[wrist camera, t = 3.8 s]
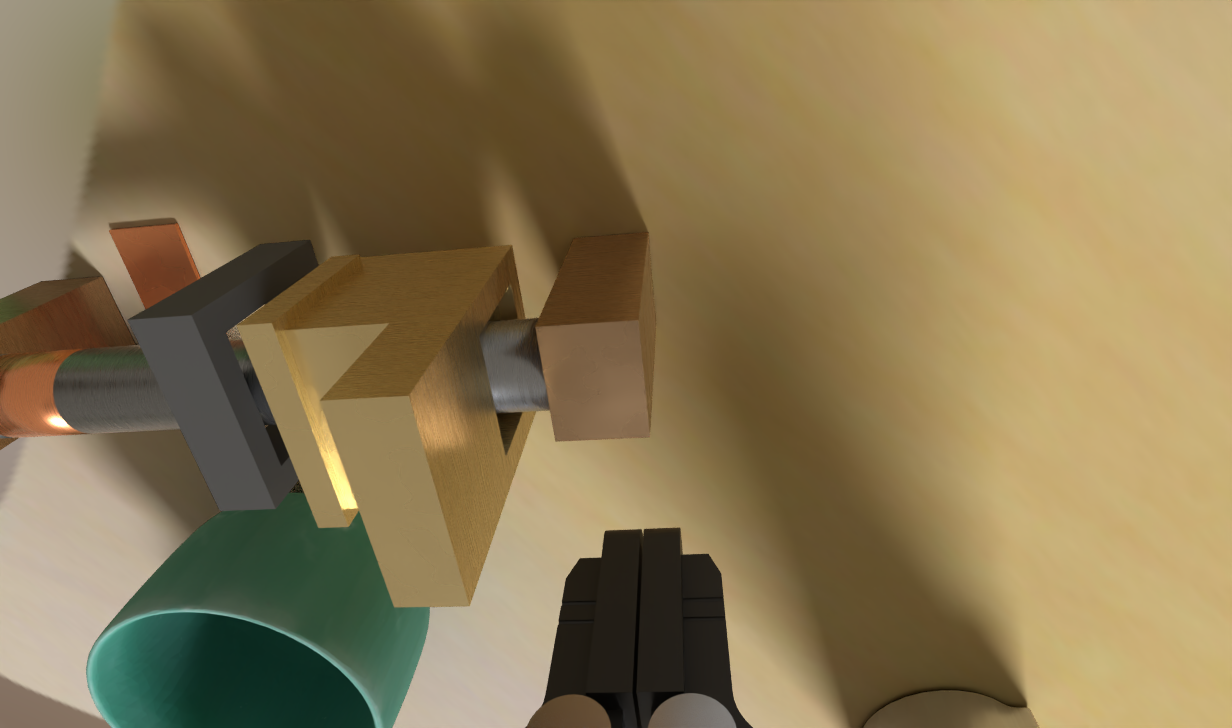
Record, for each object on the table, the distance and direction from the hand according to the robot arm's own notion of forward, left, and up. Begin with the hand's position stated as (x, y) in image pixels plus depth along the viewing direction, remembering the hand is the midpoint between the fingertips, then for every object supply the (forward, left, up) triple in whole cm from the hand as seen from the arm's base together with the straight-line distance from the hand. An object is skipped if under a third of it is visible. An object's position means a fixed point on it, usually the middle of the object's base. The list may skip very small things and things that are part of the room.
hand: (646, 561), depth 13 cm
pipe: (+14, 0, -16) cm, 21 cm away
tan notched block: (+8, 0, -12) cm, 14 cm away
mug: (+20, +16, -16) cm, 30 cm away
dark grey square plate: (+14, 0, -13) cm, 19 cm away
